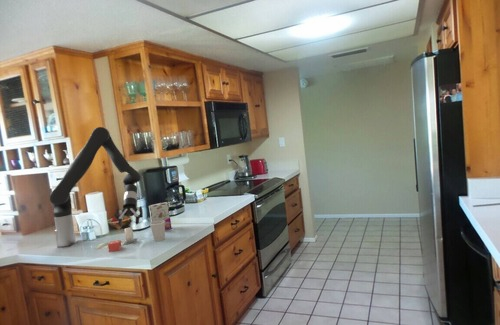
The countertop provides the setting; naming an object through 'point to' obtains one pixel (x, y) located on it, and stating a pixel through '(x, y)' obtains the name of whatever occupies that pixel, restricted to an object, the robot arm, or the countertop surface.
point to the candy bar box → (160, 213)
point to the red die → (114, 245)
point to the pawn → (129, 235)
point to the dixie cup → (158, 230)
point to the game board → (105, 245)
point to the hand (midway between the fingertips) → (128, 224)
